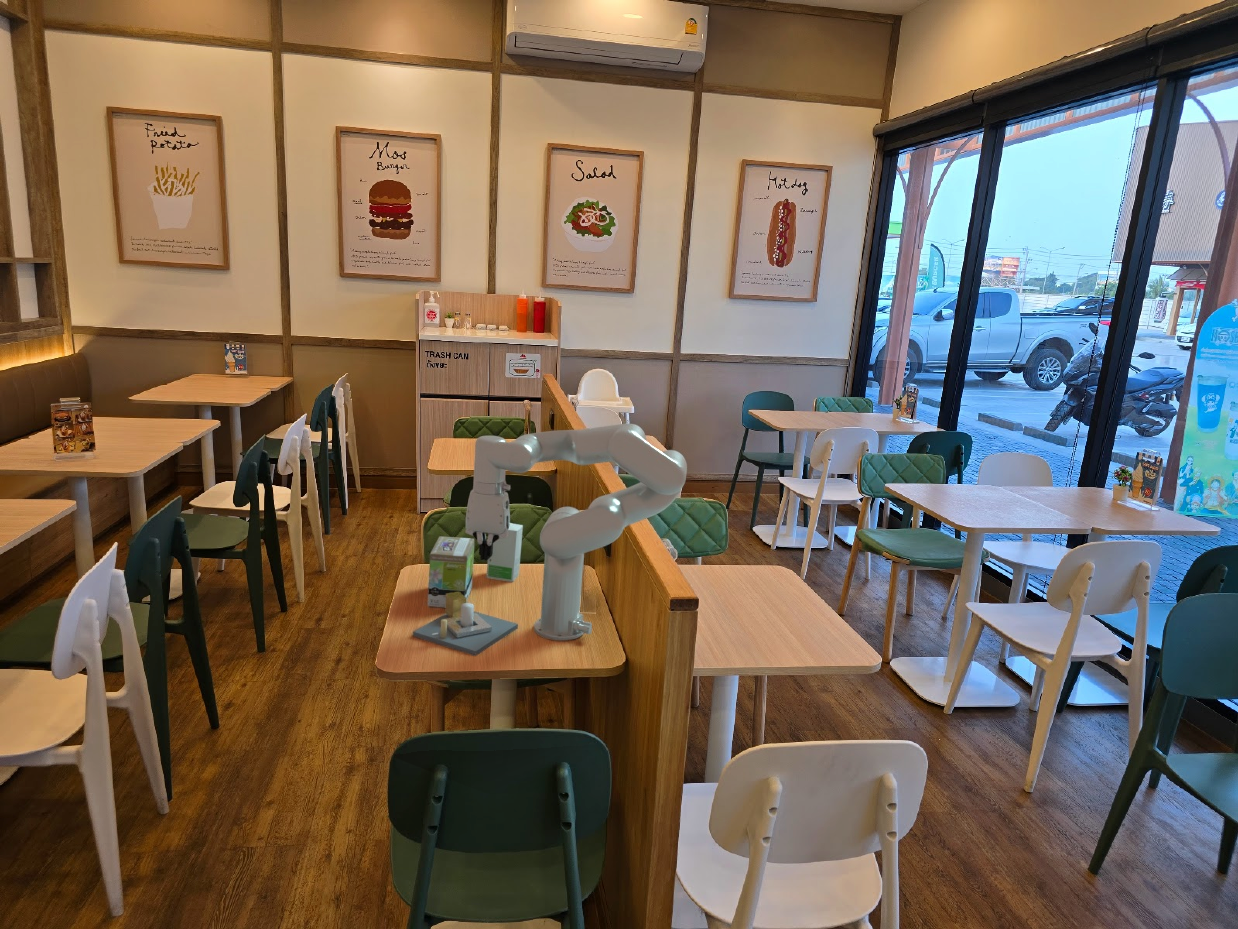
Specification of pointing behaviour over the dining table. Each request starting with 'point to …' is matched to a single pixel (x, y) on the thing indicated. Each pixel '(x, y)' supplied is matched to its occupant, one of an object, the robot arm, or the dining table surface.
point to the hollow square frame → (454, 613)
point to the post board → (471, 643)
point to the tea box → (450, 569)
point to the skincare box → (506, 556)
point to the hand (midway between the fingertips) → (485, 558)
